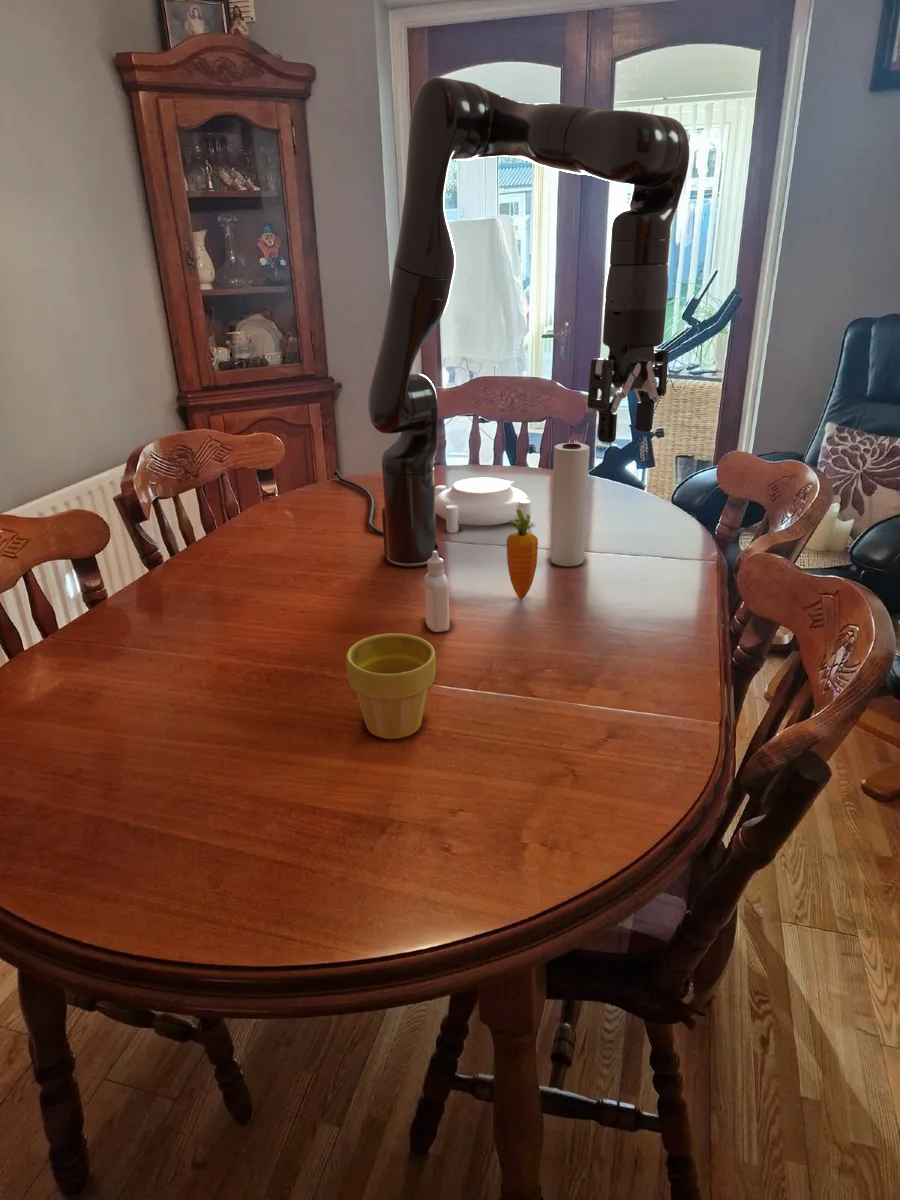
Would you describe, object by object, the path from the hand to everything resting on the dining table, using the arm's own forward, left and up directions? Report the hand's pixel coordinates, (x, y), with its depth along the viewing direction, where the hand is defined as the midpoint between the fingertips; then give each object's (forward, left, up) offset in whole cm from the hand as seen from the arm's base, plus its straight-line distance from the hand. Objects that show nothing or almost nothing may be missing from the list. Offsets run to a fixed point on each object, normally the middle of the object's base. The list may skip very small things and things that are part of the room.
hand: (625, 436), depth 100 cm
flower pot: (-5, -38, -29) cm, 48 cm away
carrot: (-18, 0, -29) cm, 34 cm away
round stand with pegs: (-53, +27, -29) cm, 66 cm away
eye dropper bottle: (-21, -16, -29) cm, 39 cm away
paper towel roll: (-23, +19, -29) cm, 42 cm away
